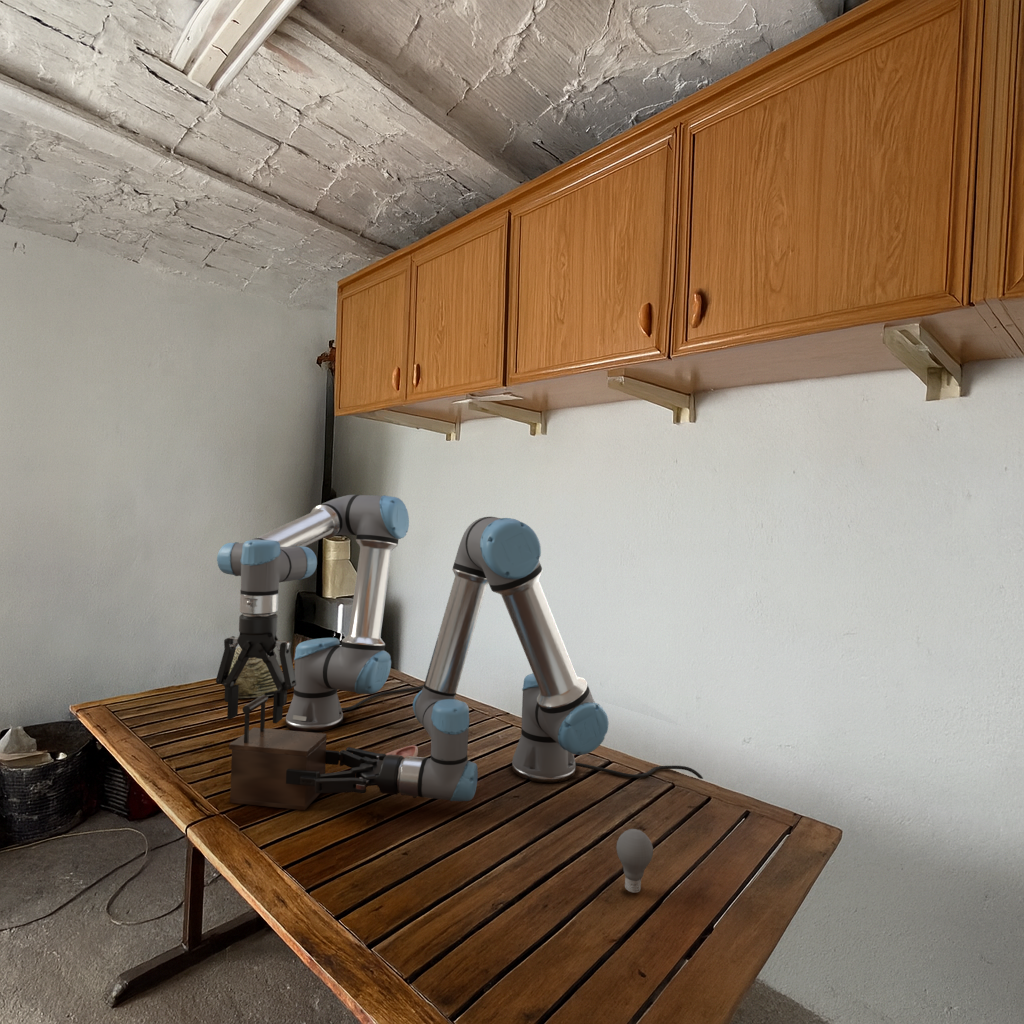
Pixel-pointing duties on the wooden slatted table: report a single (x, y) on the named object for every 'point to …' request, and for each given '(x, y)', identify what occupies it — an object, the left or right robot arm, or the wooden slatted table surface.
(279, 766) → the chest
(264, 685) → the fossil
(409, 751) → the anatomical model
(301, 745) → the lid
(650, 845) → the light bulb
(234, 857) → the wooden slatted table surface
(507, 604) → the right robot arm
